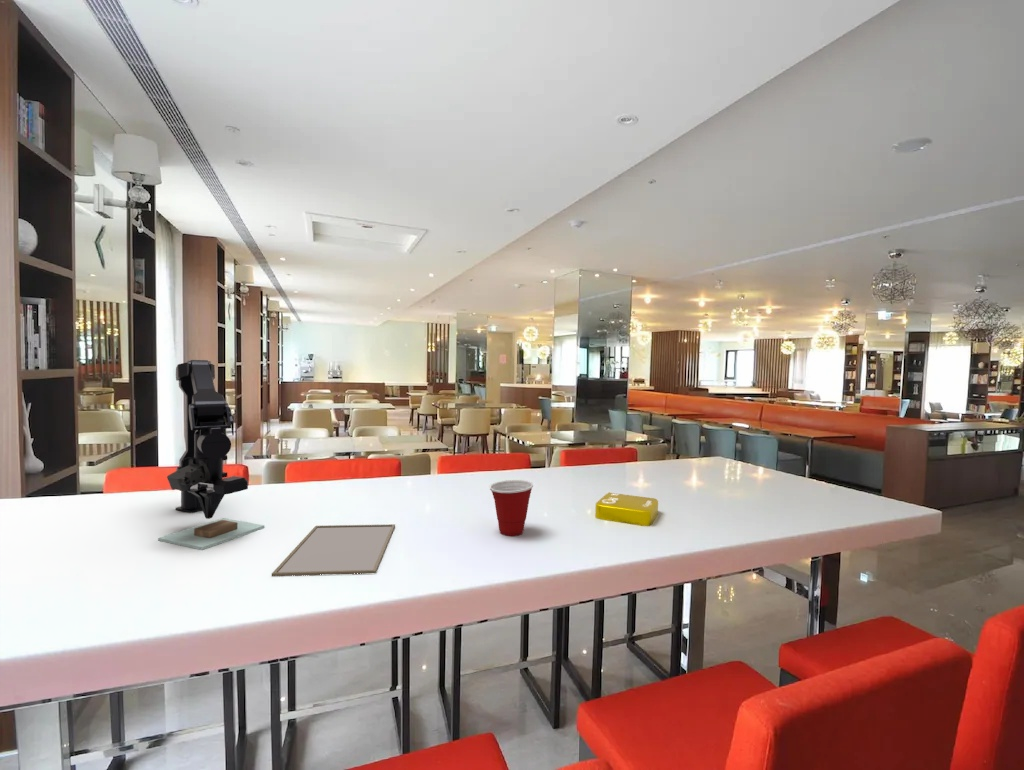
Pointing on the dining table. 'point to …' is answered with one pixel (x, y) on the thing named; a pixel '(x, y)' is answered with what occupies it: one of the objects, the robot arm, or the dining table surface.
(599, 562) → the dining table surface
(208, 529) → the brown wooden block
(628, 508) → the element tile
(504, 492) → the plastic cup
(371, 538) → the picture frame
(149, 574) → the dining table surface
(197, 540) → the mat
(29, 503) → the dining table surface
